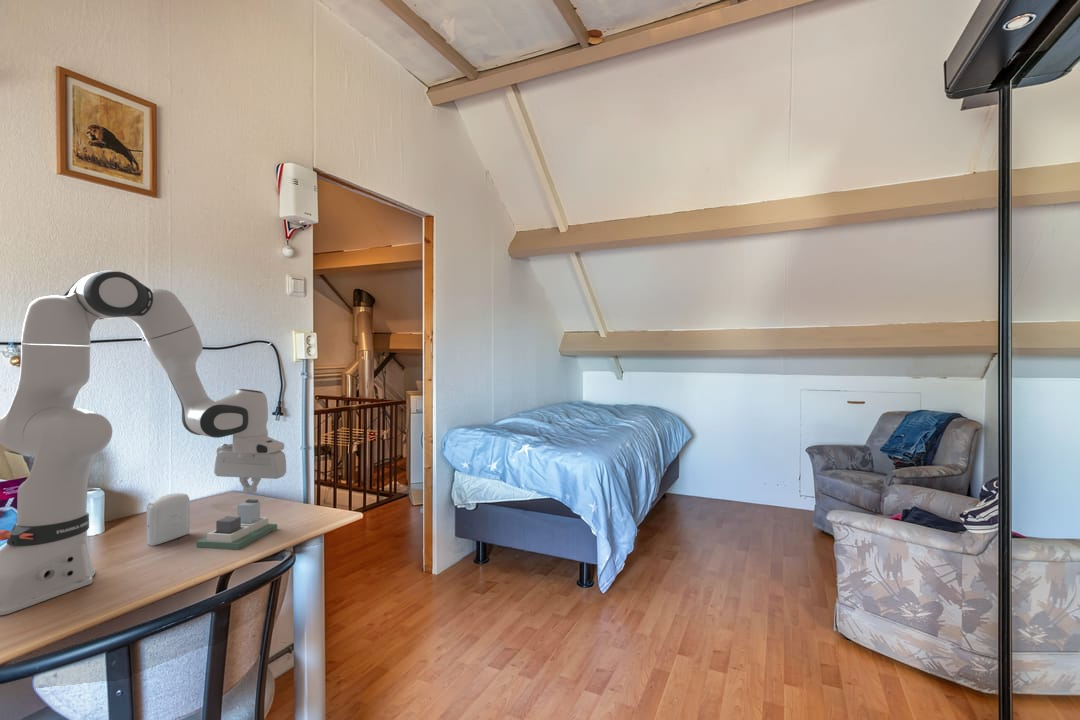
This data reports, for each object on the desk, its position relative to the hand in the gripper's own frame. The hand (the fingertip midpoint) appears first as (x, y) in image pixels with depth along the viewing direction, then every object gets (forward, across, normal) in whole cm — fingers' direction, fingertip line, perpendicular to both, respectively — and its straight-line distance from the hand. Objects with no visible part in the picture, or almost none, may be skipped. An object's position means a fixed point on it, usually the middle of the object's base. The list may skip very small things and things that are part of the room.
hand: (250, 492), depth 142 cm
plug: (+10, 0, 0) cm, 10 cm away
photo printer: (+12, -18, -8) cm, 23 cm away
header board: (+12, 0, -4) cm, 12 cm away
